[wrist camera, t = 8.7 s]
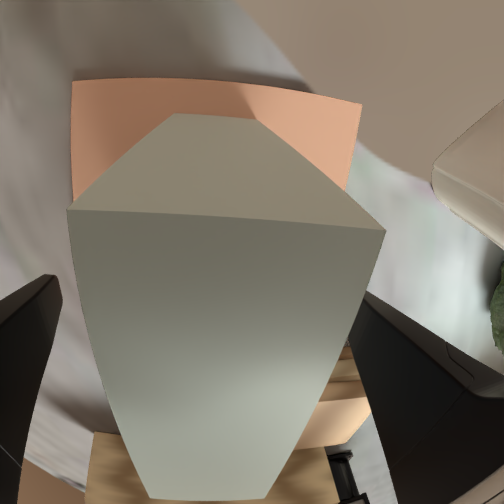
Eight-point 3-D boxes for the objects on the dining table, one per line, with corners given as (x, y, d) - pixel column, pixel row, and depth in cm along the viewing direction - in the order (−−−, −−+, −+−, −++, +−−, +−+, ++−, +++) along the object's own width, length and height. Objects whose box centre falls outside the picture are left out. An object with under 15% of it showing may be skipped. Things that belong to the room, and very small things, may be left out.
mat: (357, 103, 14) (362, 104, 13) (308, 308, 19) (311, 315, 19) (77, 81, 11) (72, 81, 11) (91, 299, 17) (88, 306, 17)
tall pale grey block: (256, 119, 13) (386, 230, 4) (233, 293, 17) (264, 498, 8) (174, 113, 12) (66, 209, 3) (168, 290, 17) (150, 498, 7)
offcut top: (377, 378, 20) (384, 394, 19) (340, 429, 24) (345, 443, 23) (293, 384, 19) (298, 403, 18) (268, 436, 23) (271, 451, 21)
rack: (370, 340, 22) (416, 429, 15) (317, 438, 29) (336, 504, 22) (52, 330, 18) (13, 429, 11) (97, 436, 25) (87, 506, 18)
